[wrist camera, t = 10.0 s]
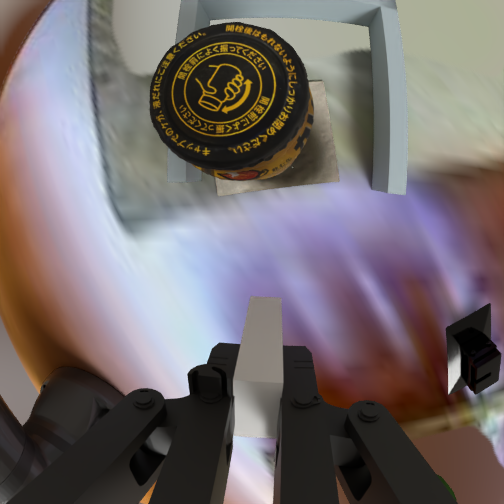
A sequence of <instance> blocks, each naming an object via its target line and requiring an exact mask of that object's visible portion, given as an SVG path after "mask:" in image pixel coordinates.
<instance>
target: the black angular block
mask: <svg viewBox="0 0 504 504" xmlns="http://www.w3.org/2000/svg"><path fill="white" fill-rule="evenodd" d="M446 338H447V353H448V394H449V395H450V394H452V393H454V392H456V391H458V390H459V389H461V388H463V387H465V386H468V387H469V389H470V390H471V391H473V392H474V394H475V395H476V394H478V393H479V392H481V391H483V390H484V389H486V388H488V387H489V386H491V385H492V384H494V383H496V382H497V381H498V380H499V372H500V363H501V353H500V352H499V351H498V350H497V349H496V347H497V346H496V345H495V344H494V343H493V342H492V341H491V304H490V303H489V304H487V305H485V306H484V307H482V308H480V309H479V310H477V311H475V312H474V313H472V314H470V315H468V316H467V317H465V318H463V319H461V320H459V321H457V322H456V323H454V324H452V325H450V326H448V327H447V328H446Z"/></svg>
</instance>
